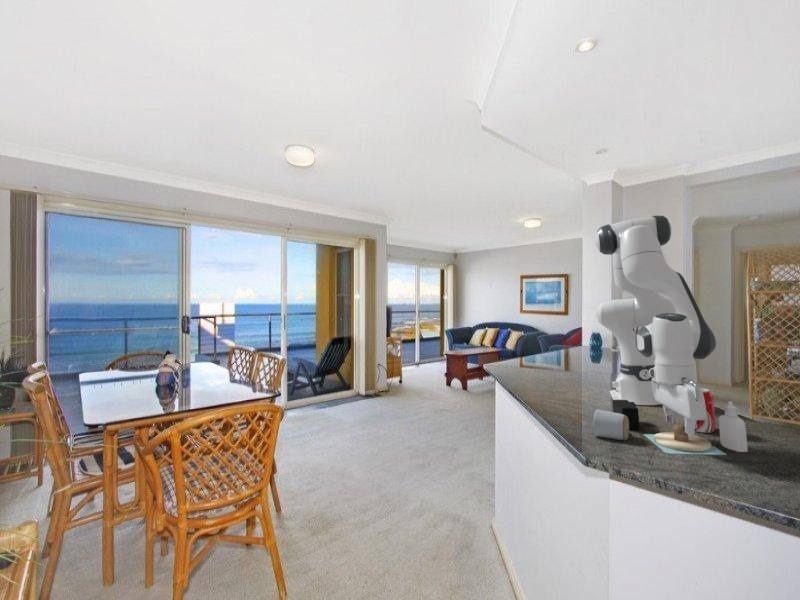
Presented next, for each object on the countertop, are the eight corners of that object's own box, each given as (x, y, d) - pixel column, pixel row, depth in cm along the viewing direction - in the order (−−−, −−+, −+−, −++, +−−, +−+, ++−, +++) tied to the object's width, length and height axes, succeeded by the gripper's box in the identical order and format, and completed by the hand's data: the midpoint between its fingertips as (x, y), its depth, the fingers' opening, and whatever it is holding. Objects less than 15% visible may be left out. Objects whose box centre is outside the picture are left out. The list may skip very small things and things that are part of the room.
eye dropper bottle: (741, 446, 95) (737, 399, 95) (749, 454, 90) (745, 404, 90) (719, 444, 97) (715, 398, 97) (726, 452, 92) (722, 403, 92)
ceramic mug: (627, 445, 101) (625, 416, 101) (593, 439, 106) (591, 412, 106) (631, 433, 109) (630, 407, 109) (600, 429, 114) (598, 404, 114)
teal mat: (643, 435, 106) (643, 434, 106) (695, 436, 103) (695, 434, 103) (666, 455, 93) (666, 453, 93) (727, 456, 90) (727, 454, 90)
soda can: (679, 429, 110) (675, 388, 110) (695, 425, 112) (692, 385, 112) (705, 436, 103) (701, 393, 103) (722, 432, 105) (718, 390, 105)
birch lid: (646, 435, 105) (645, 419, 105) (695, 435, 103) (693, 419, 103) (666, 451, 93) (665, 433, 94) (722, 452, 91) (720, 434, 91)
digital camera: (644, 432, 109) (642, 408, 110) (624, 431, 111) (622, 408, 111) (632, 421, 119) (631, 399, 120) (614, 421, 121) (612, 399, 121)
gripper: (712, 382, 88) (717, 441, 87) (671, 368, 107) (674, 417, 107) (681, 382, 89) (686, 441, 88) (646, 369, 109) (650, 416, 108)
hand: (679, 427), depth 98 cm, fingers open, 8 cm apart
